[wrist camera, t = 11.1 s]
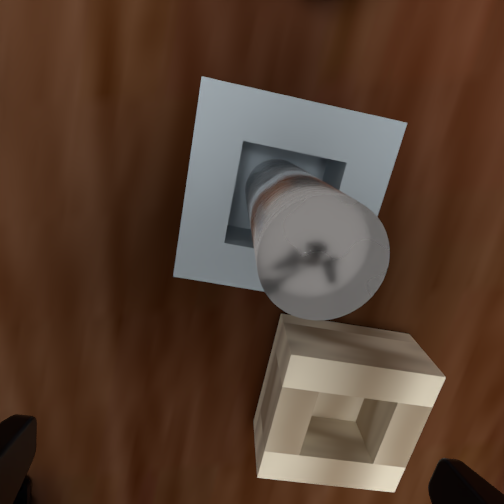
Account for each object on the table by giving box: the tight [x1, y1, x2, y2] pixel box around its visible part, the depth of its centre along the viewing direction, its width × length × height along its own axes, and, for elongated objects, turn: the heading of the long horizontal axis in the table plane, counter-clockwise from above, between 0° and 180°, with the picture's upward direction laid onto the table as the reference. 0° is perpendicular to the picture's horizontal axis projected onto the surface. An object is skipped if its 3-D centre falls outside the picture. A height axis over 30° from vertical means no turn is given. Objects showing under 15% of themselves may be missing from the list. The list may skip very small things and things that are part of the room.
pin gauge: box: [245, 159, 390, 321], centre depth 13 cm, size 3×3×10 cm
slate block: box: [173, 76, 407, 292], centre depth 17 cm, size 8×8×4 cm
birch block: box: [254, 314, 446, 492], centre depth 21 cm, size 8×8×4 cm
